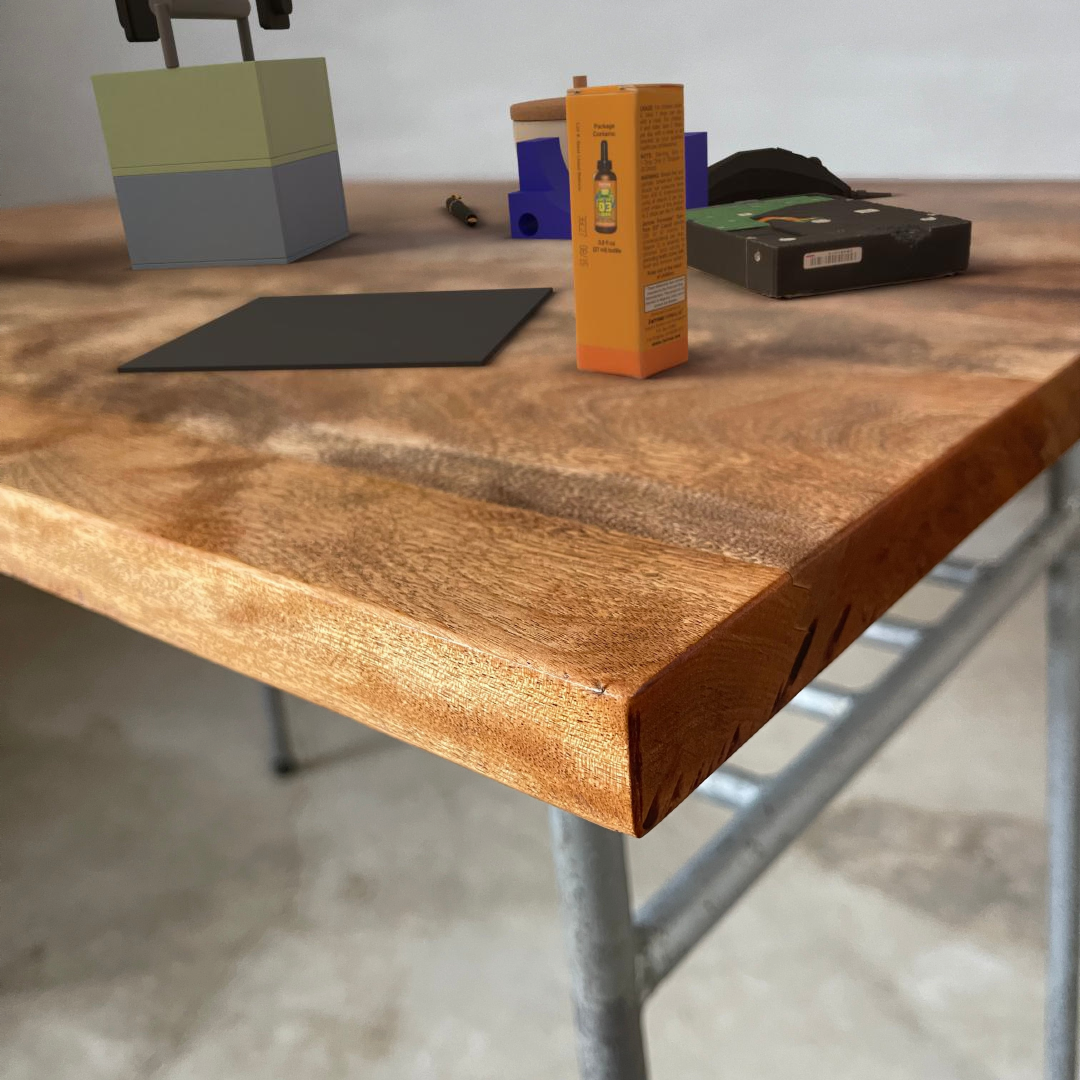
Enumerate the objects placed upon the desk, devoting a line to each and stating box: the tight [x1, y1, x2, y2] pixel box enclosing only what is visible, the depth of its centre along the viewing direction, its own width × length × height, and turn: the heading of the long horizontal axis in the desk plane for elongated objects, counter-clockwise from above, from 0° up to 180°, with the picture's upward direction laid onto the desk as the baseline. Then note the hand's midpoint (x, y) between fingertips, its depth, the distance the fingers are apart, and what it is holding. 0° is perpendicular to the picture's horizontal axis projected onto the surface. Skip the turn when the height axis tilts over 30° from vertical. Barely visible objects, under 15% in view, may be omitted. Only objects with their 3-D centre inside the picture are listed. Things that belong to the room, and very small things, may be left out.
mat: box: [116, 287, 554, 374], centre depth 52 cm, size 16×14×1 cm
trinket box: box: [509, 74, 588, 171], centre depth 84 cm, size 11×11×9 cm
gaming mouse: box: [708, 146, 893, 207], centre depth 78 cm, size 6×15×4 cm, turn 89°
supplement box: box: [565, 82, 689, 380], centre depth 40 cm, size 3×3×10 cm
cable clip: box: [507, 131, 709, 240], centre depth 71 cm, size 12×4×6 cm, turn 60°
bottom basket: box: [112, 149, 351, 271], centre depth 76 cm, size 11×11×6 cm
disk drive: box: [686, 193, 973, 299], centre depth 57 cm, size 10×3×15 cm
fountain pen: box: [445, 193, 478, 227], centre depth 84 cm, size 14×1×2 cm, turn 12°
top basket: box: [90, 0, 339, 178], centre depth 72 cm, size 11×11×10 cm
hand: (209, 35), depth 71 cm, fingers open, 8 cm apart
